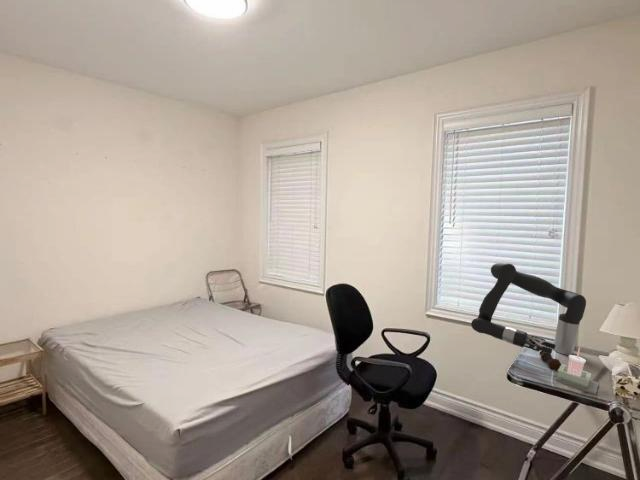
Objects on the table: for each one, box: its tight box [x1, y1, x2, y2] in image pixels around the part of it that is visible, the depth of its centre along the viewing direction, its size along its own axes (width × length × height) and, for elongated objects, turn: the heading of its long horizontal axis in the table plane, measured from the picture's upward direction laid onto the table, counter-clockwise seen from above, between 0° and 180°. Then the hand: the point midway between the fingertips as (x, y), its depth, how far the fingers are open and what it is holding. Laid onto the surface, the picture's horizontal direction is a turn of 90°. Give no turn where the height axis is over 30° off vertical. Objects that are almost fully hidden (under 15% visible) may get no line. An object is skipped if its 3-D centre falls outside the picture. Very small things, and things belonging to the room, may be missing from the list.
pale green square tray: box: [555, 363, 599, 396], centre depth 151 cm, size 14×14×4 cm
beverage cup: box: [567, 346, 587, 377], centre depth 151 cm, size 6×6×14 cm
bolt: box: [539, 350, 562, 371], centre depth 169 cm, size 6×5×15 cm
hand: (553, 349), depth 157 cm, fingers open, 8 cm apart
